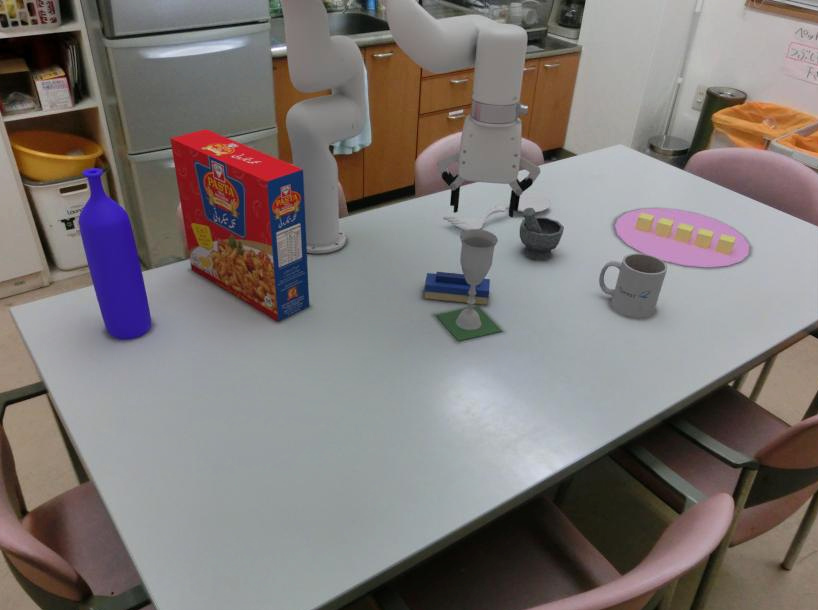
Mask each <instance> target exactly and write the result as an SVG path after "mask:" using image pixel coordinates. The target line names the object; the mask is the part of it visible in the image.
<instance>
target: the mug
mask: <svg viewBox="0 0 818 610" xmlns="http://www.w3.org/2000/svg"><path fill="white" fill-rule="evenodd" d="M610 267H615V268H617V269H618V270H619V272H618V276H617V280H616V283H615V287H614V288H609V287H607V285H606V284H605V275H606V271H607V270H608V268H610ZM667 271H668V265H667V262H665V261H662V260H661V259H659V258H657V257H654V256H651V255H647V254H643V253H641V252H639V253H636V252H635V253H630V254H627V255H625V256H624V257H623V258H622V261H621V262H620V261H617V260H612V261H609V262H606V263H605V265H604V266H603V267H602V268H601V270H600V272H599V273H600V274H599V277H598V282H599V288H600V289H601V291H602V292H603V293H604V294H607V295H609V296H612V299H611V301H610V302H611V304H610V305H611V308H612V309H613V310H614V311H615V312H616V313H618V314H621V315H622V316H625V317H628V318H633V319H645V318H649V317H651V316H652V315H653V314H654V312H655V309H656V306H657V302H658V300H659V296H660V294H661V293H660V292H661V290H662V287H663V284H664V281H665V278H666V275H667Z"/></svg>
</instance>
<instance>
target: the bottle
mask: <svg viewBox="0 0 818 610" xmlns="http://www.w3.org/2000/svg"><path fill="white" fill-rule="evenodd" d="M81 174H82V176H83V177H85V178H86V179H87V182H88V186H89V192H90V194H89V198H88V200H87V201H86V202H85V204H84V206H83V207H82V209H81V211H80V213H79V216H78V227H79V233H80V237H81V241H82V245H83V250H84V255H85V258H86V263H87V265H88V269H89V274H90V277H91V281H92V285H93V288H94V292H95V296H96V299H97V303H98V307H99V310H100V314H101V318H102V320H103V324H104V327H105V329H106V331H107V333H108V335H110V336H111V337H112V338H114V339H119V340H132V339H136V338H140V337H142V336H144V335H145V334H147V333H148V332H149V331H150V329H151V327H152V316H151V310H150V305H149V300H148V294H147V290H146V285H145V280H144V275H143V270H142V265H141V261H140V257H139V256H140V255H139V252H138V247H137V243H136V239H135V234H134V231H133V227H132V223H131V220H130V217H129V214H128V212H127V210H125V209H124V207H123V206H122V205H120V204H119V203H118V202H116V200H114V199H112V198H111V197H110V196H108V195H107V193H106V192H105V190H104V187H103V182H102V176H103V175H104V170H102V169H101V168H96V167H94V168H93V167H92V168H87V169H84V170H83V171H82V173H81Z"/></svg>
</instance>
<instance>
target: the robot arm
mask: <svg viewBox="0 0 818 610" xmlns="http://www.w3.org/2000/svg"><path fill="white" fill-rule="evenodd" d="M377 1H378V2H379V3H380V4H381V5H382V6H383V7H384V8H385V9H386V20H387V25H388V27H389V31H390V34H391V37H392V39H393V40H394V42H395V43H396V45H397V46H398V47H399V48H400V49H401V51H402V52H403V53H405V54H406V55H407V57H409V58H410V59H411V61H413V63H415V64H416V65H418V67H420V68H421V69H422V70H425V71H426V72H429V73H431V74H437V75H438V74H439V75H440V74H446V73H451V72H454V71H459V70H465V69H471V68H474V73H473V82H472V83H473V84H472V94H471V105H470V106H471V107H470V114H466V116H465V119H464V122H463V126H462V131H461V135H460V144H459V150H457V151H455V152H453V153H450V154H448V155H446V156H444V157H441V158H438V159H437V161H436V168H437V169H438V172H439V174H440V175H441V179H442V180H443V181H444V182H445V184H446V185H447V186H448V187H449V190H450V200H449V201H450V202H449V207H453V212H452V213H454V214H457V213H458V211H459V203H460V192H461V185H462V184H463V183H464V182H465V181H466V182H475V183H487V184H500V185H501V184H504V185H509V187H510V188H511V192H510V199H509V204H510V206H509V209H508V217H509V218H514V215H515V212H519V211H518V206H519V199H520V197H521V196H522V195H523V193H524V192H525V191H526V190H527V189H529V188H530V187H532V186H533V183H535V181H536V180H537V178H538V177H539V175H540V174H541V167H540V166H538V165H537V164H535V163H533V162H532V161H530V160H528V159H527V158H526V157H524V156H522V155H521V154H522V153H521V152H522V139H523V138H522V137H523V136H522V135H523V127H522V126H523V125H522V119H521V118H520V116H523V115H525V116H526V115H528V111H529V105H524V104H523V103H522V102H521V94H522V85H523V77H524V70H525V63H526V56H527V55H526V54H527V48H528V39H529V38H528V33H527V31H526V29H525V28H524V27H522V26H520V25H517V24H513V23H503V22H501V23H500V22H498V21H495V20H494V19H492V18H489V17H487V16H486V15H485V16H484V15H482V14H476V13H475V14H474V13H473V14H464V15H456V16H450V17H443V18H439V19H437V18H435V17H434V16H433V15H432V14H430V13H429V11H427V10H426V9H425V8H423V6H422V5H421V4H419V3H418V2H419V1H420V0H377ZM279 3H280V6H281V10H282V15H283V23H284V37H285V38H284V39H285V48H286V57H287V66H288V74H289V80H290V82H291V84H292V86H293V87H294V88H295V90H296V91H298V92H301V93H305V94H309V93H318V92H323V91H327V90H331V91H330V92H331V93H330V94H326V95H321V96H316V97H312V98H307V99H303V100H301V101H299V102H296V103H295V104H293V105H292V106H291V107H290V108H289V110H288V111H287V113H286V118H285V127H286V132H287V134H288V135H287V137H288V139H289V145H290V148H291V155H292V156H291V157H292V163H293V164H292V165H294V166H296V167H298V168H301V169H303V179H304V201H305V223H306V244H307V254H314V255H315V254H316V255H317V254H329V253H333V252H336V251H338V250H340V249H342V248H343V247H344V246H345V244H346V243H347V237H346V236H347V235H346V233H344V232H343V231H342V230H341V229H340V220H339V219H340V216H339V213H340V212H339V210H340V208H339V167H338V163H337V160H336V158H335V156H334V155H333V153H332V152H331V149H330V146H332V145H334V144H336V143H340V142H344V141H347V140H350V139H353V138H355V137H358V136H359V135H360V134H361V133H362V132H363V130H364V128H365V124H366V119H367V118H366V117H367V116H366V115H367V114H366V113H367V112H366V79H365V63H364V59H363V54H362V53H361V50H360V48H359V46H358V45H357V43H356V42H355V41H354V40H353V38H351V37H349V36H347V35H343V34H342V35H340V34H338V35H331V34H330V21H329V20H330V19H329V14H328V11H327V9H326V6H325V5H324V2H323V0H279ZM330 35H331V36H330ZM456 163H457V173H456V174H455V175H453V174H452V173H451V172H450V171H449V169H448V166H451V165H453V164H456ZM520 168H521V169H523V170H525V171H527V172H528V174H527V176H526V177H525V178H523V179H522V180H521V181H520V180H519V177H518V176H519V172H520Z"/></svg>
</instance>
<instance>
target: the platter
mask: <svg viewBox="0 0 818 610" xmlns="http://www.w3.org/2000/svg"><path fill="white" fill-rule="evenodd" d="M614 228H615V231H616V235H617V236H618V237H619V238H620V239H621V241H623V242H624V244H626V245H627V246H629V247H630V248H632V249H634V250H636V251H637V252H639V253H640V254H647V255H651V256H654V257H657V258H659V259H661V260H662V261H664V262H665V263H669V264H675V265H679V266H683V267H693V268H705V269H707V268H721V267H722V268H723V267H724V268H725V267H730V266H733V265H735V264H738V263H741V262H742V261H744V260H745V259H746V258H747V257H748V256H749V254H750V244H749V243H748V241H747V239H746V238H745V237H744V235H742V233H739V231H737V230H736V229H735V228H733V227H731V226H730V225H728V224H725V223H723V222H721V221H719V220H717V219H715V218H712V217H708V216H705V215H702V214H699V213H695V212H690V211H684V210H680V209H670V208H661V207H659V208H657V207H656V208H640V209H637V210H632V211H628V212H626V213H624V214H622V215H621V216H620V217H618V218H617V220H616V223H615V224H614Z"/></svg>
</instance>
